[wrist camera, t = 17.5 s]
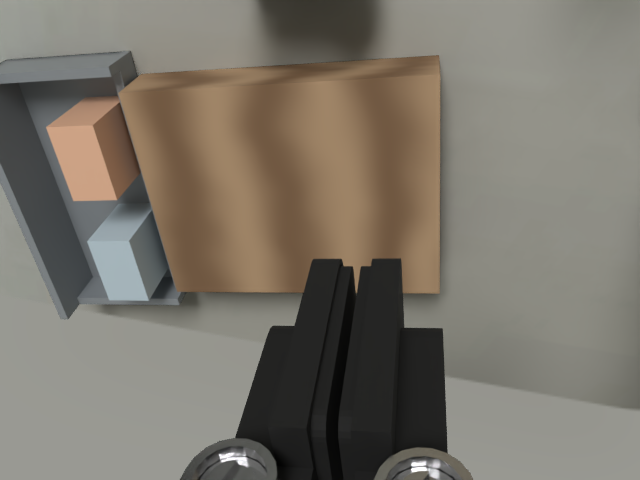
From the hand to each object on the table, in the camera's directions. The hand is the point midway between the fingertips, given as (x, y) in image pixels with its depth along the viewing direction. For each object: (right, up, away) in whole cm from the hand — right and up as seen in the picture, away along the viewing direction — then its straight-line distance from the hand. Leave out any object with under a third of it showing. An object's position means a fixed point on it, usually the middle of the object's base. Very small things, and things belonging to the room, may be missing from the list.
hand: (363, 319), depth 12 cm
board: (-2, +6, +29) cm, 30 cm away
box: (-16, +6, +32) cm, 36 cm away
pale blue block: (-13, +1, +31) cm, 33 cm away
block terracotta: (-13, +8, +27) cm, 31 cm away
